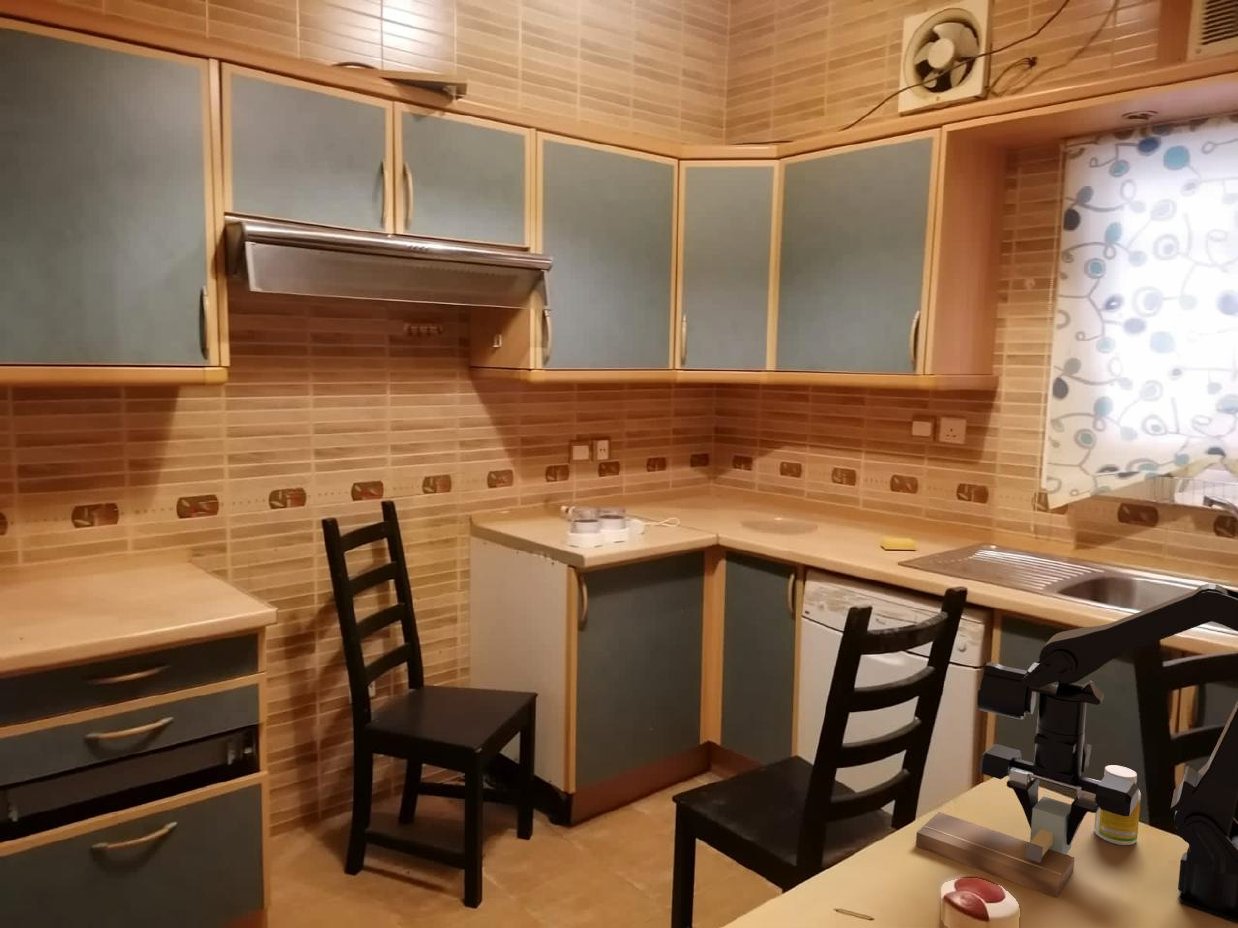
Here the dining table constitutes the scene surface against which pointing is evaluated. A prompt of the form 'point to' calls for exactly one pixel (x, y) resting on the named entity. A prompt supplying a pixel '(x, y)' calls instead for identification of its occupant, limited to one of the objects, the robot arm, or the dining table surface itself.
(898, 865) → the dining table surface
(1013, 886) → the dining table surface
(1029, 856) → the light blue block
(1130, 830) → the supplement bottle
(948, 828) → the board
